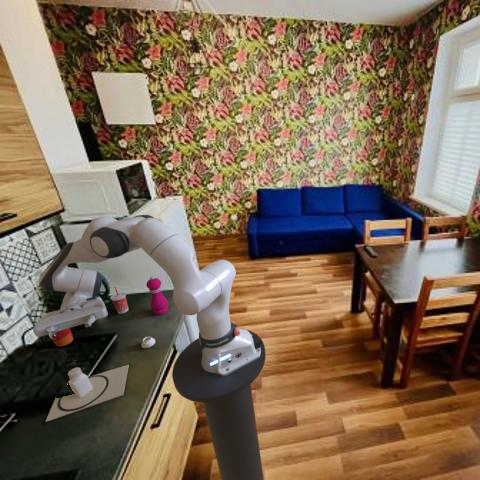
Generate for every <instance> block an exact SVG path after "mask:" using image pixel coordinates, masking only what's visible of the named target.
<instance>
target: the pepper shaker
mask: <svg viewBox="0 0 480 480" xmlns="http://www.w3.org/2000/svg"><path fill="white" fill-rule="evenodd" d="M67 376H68V378H69V380H68V381H67V384H68V383H69V385H70V387H71V389H72V391H73V392H74V393H75V395H77V396H79V397H82V396H84V395H85V394H86V393H88V392H89V391H90V390H92V385H91V383H90V381H89V379H88V377H89V376H88V375H87V374H85V373H83V371H82V369H81V367H74V368H72V369H70V370H69V371H68V372H67Z"/></svg>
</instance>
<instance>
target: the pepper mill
mask: <svg viewBox="0 0 480 480" xmlns="http://www.w3.org/2000/svg"><path fill="white" fill-rule="evenodd" d="M145 286H146V288H147V289H148V291H149V294H151V301H150V308H151V309H152V311H153V314H154V315H156V316H161V315H164V314H166V313H167V312H168V311H169V306H168V305H169V302H168V300H167V297H166V296H164V295H163V293H162V281H161V279H160V278H157V277H155V276H154V275H151V276H150V277H149V279H148V280H147V282H146V285H145Z"/></svg>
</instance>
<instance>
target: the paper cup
mask: <svg viewBox="0 0 480 480" xmlns="http://www.w3.org/2000/svg"><path fill="white" fill-rule="evenodd" d="M59 311H60V309H58V310H53V311H50V312H47V313H45V314H43V315H42V316H41V317H40V320H41V319H42V318H45V317H48V316H52V315H55V314H59ZM56 333H57V336H56V337H54V338H50V339H51V341H52V342H53V343H54V345H55V346H56V347H60V348H61V347H65V346H67V345H69V344H71V343H72V342H73V341H74V336H73V333H72V330H71V328H68V329H65V330H62V331H58V332H56Z"/></svg>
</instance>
